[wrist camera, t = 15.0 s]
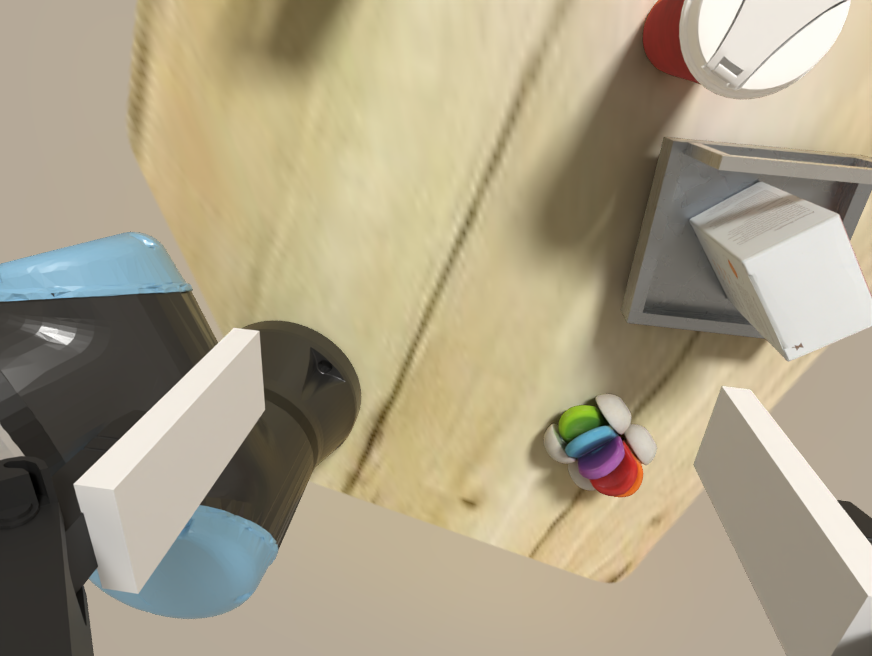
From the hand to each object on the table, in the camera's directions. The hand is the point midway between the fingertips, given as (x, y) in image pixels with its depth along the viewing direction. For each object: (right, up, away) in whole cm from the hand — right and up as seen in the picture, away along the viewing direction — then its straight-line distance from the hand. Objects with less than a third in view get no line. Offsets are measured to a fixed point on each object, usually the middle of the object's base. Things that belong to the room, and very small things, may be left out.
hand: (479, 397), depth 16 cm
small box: (+22, +9, +26) cm, 35 cm away
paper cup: (+16, +23, +23) cm, 36 cm away
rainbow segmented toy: (+14, -8, +38) cm, 41 cm away
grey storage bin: (+22, +10, +28) cm, 37 cm away
